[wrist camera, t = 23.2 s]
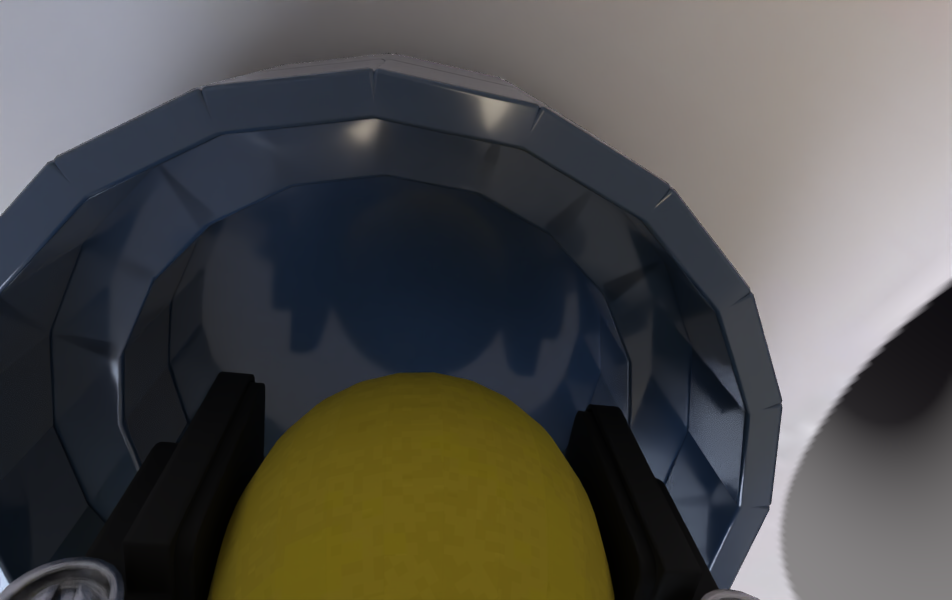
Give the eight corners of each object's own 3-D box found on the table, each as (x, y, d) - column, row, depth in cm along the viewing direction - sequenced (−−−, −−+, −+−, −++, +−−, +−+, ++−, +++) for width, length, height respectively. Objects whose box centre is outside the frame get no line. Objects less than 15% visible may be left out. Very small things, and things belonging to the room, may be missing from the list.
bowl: (98, 536, 16) (-37, 744, 12) (90, -19, 11) (-150, -52, 7) (580, 587, 18) (634, 783, 14) (751, 132, 13) (930, 191, 9)
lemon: (524, 533, 14) (632, 1071, 7) (272, 516, 13) (98, 1101, 6) (579, 313, 12) (818, 762, 5) (283, 279, 11) (33, 748, 4)
